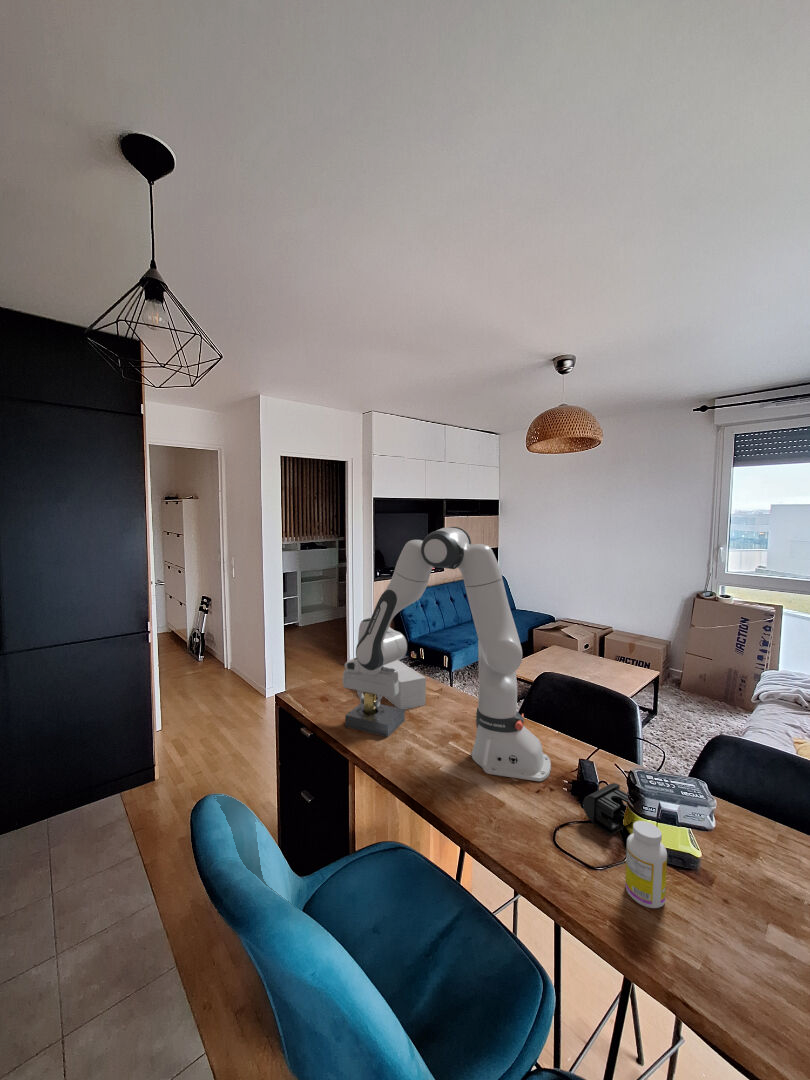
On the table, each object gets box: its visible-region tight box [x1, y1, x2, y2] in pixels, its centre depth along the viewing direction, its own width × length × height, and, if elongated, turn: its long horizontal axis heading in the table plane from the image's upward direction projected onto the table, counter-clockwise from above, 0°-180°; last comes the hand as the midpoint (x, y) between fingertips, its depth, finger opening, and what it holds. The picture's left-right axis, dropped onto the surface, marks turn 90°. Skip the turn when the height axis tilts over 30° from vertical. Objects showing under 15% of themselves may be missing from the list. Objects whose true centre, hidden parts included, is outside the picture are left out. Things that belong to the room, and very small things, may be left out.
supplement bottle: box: [625, 820, 668, 909], centre depth 82 cm, size 7×7×13 cm
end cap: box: [582, 782, 629, 836], centre depth 103 cm, size 10×7×7 cm
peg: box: [363, 692, 377, 715], centre depth 149 cm, size 4×4×8 cm
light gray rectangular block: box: [383, 659, 427, 710], centre depth 176 cm, size 32×11×11 cm, turn 28°
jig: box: [344, 703, 406, 738], centre depth 149 cm, size 16×13×4 cm
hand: (369, 704), depth 149 cm, fingers closed on peg, 4 cm apart
